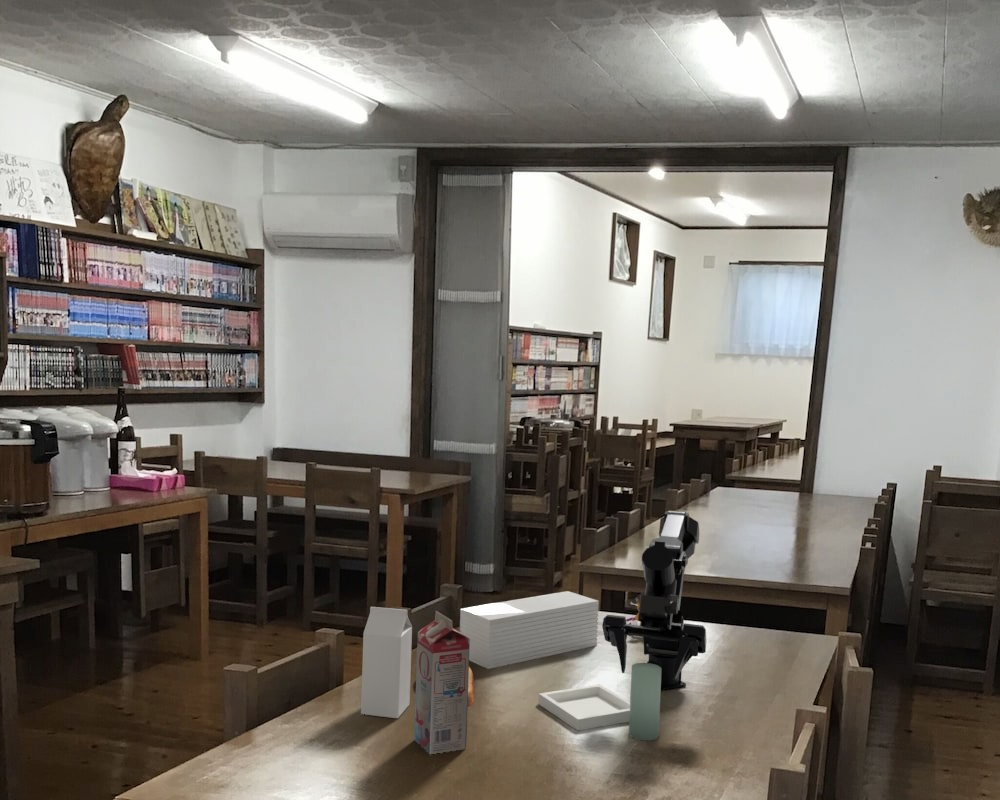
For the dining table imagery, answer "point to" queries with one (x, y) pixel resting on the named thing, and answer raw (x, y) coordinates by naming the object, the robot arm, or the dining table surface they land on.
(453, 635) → the juice carton
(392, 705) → the milk carton
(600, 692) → the tray
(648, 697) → the grey-green post
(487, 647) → the stack of papers
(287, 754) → the dining table surface
